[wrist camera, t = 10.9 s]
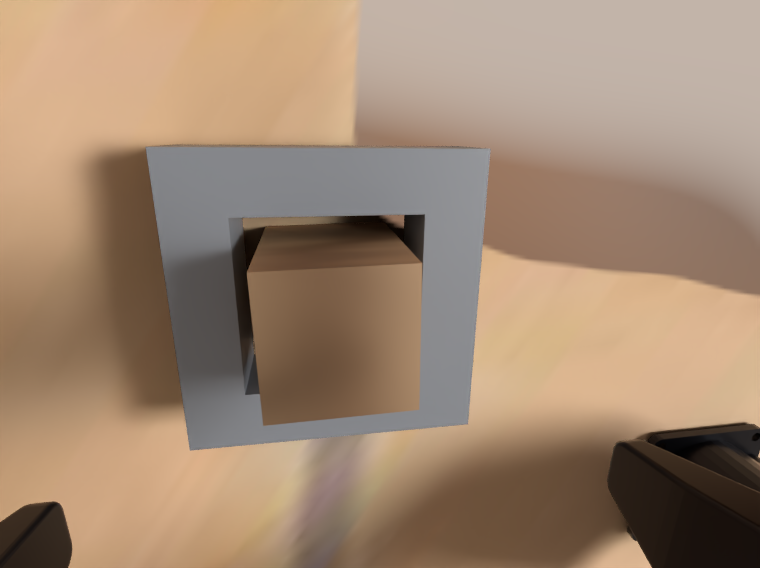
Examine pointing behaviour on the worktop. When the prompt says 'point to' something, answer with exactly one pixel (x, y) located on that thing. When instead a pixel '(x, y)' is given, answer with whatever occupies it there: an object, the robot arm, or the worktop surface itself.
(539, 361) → the worktop surface
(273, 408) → the peg
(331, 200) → the socket block
